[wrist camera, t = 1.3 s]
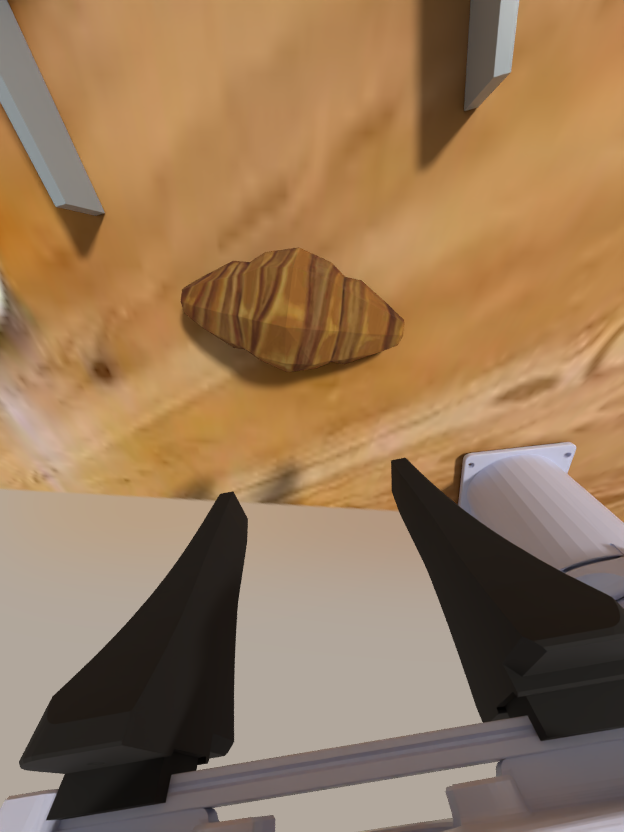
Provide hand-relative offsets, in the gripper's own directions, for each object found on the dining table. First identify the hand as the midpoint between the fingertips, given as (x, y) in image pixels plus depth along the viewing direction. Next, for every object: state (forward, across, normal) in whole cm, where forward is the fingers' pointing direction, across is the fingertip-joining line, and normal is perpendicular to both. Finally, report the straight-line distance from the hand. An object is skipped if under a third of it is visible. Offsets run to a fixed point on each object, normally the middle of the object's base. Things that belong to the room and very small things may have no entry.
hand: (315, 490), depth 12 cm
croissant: (+10, -1, -6) cm, 12 cm away
